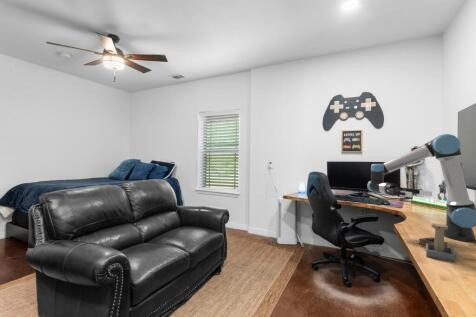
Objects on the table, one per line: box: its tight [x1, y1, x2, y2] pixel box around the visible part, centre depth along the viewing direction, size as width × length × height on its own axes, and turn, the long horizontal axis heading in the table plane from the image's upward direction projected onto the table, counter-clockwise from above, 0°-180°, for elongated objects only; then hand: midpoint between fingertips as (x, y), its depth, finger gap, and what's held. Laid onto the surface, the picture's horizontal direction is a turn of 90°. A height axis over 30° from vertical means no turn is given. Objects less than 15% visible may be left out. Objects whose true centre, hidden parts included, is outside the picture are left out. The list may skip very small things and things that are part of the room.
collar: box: [418, 236, 449, 247], centre depth 135 cm, size 10×8×3 cm
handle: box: [431, 222, 448, 253], centre depth 122 cm, size 5×6×15 cm
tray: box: [425, 243, 456, 263], centre depth 122 cm, size 12×11×4 cm
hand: (421, 194), depth 131 cm, fingers open, 13 cm apart
